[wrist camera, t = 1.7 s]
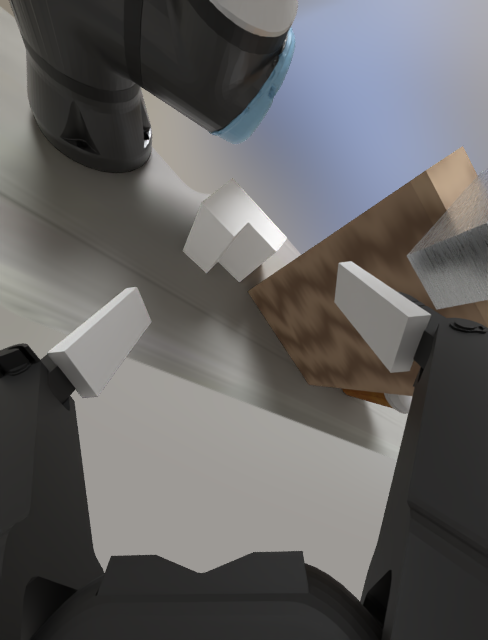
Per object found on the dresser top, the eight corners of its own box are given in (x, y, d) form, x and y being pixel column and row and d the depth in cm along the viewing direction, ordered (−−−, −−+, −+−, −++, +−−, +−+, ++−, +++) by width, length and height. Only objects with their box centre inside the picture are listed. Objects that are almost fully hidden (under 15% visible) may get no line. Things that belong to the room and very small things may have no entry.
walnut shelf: (247, 291, 40) (425, 170, 15) (286, 265, 45) (462, 146, 21) (308, 384, 42) (551, 411, 17) (338, 348, 47) (554, 330, 23)
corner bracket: (182, 251, 36) (201, 202, 25) (221, 216, 40) (251, 163, 30) (229, 294, 38) (264, 267, 27) (260, 256, 43) (300, 220, 32)
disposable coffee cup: (359, 357, 50) (418, 355, 39) (366, 400, 48) (430, 409, 38) (331, 360, 46) (388, 359, 35) (337, 407, 44) (400, 420, 34)
